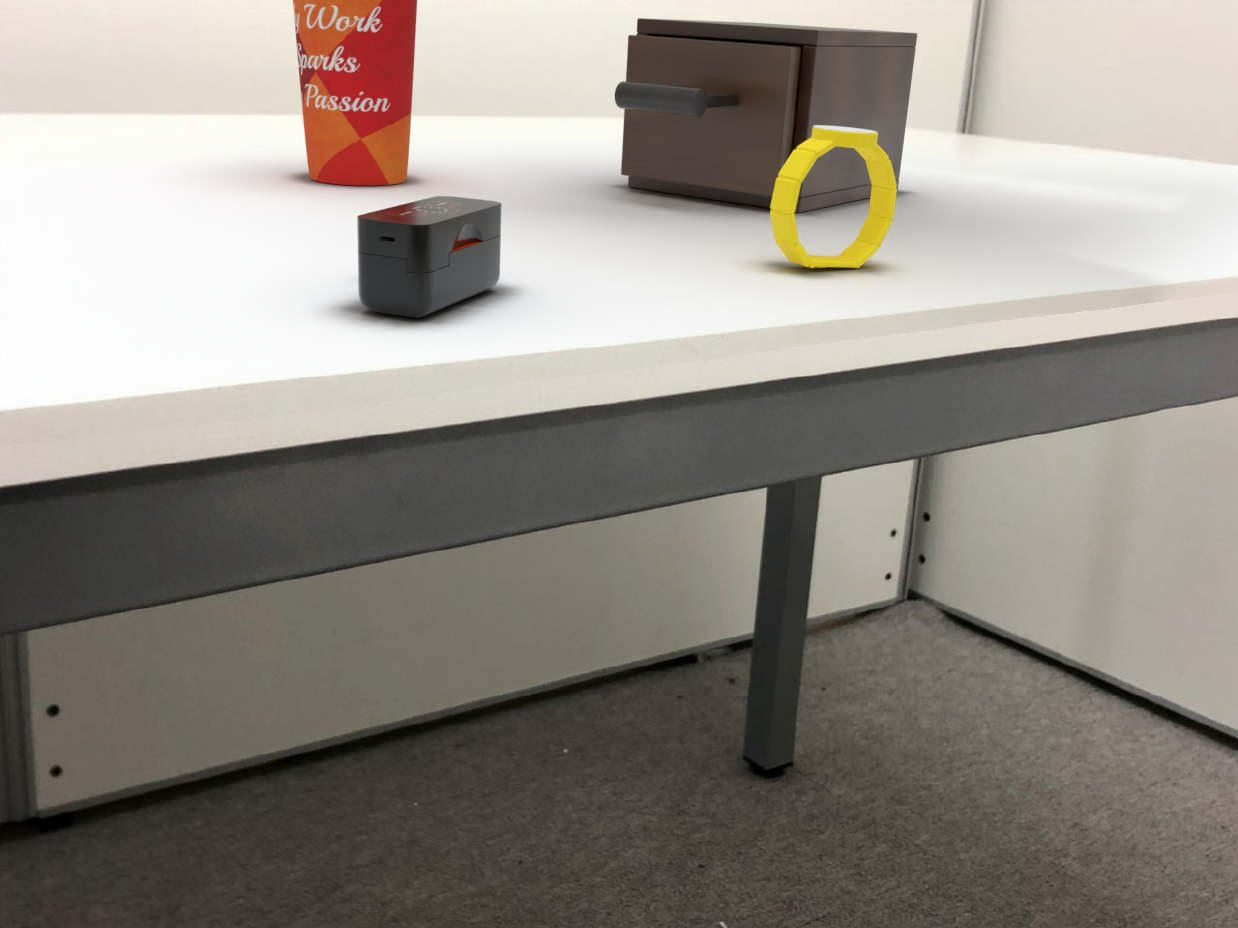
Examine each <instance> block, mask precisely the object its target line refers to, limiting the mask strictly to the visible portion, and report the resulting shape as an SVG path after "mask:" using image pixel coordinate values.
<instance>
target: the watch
mask: <svg viewBox="0 0 1238 928" xmlns="http://www.w3.org/2000/svg"><path fill="white" fill-rule="evenodd" d="M877 138H878V133H877V132H876V131H873V130H867V129H860V128H851V127H841V126H827V125H814V126H813V128H812V135H811V138H809V139H808V140H806V141H805V142H803V143H802V144H800V145H798V146H797V148H796V149H795V150H793V152H792V153H791V155H790V156H789V158H788V159H787V161H786V162H785V164H784V166H783V167H782V169H781V170H780V172H779V173H778V177H777V178H776V182H775V187H774V191H773V196H772V200H771V205H770V208H769V209H770V211H769V217H770V222H771V228H772V233H773V239H774V240H775V244H776V246H777V247H778V248H779V249H780V251H781V252H782V254H783V255H784V256H785V258H786V259H787V260H788V261H789V262H790V263H793V264H796V265H799V266H802V267H806V268H810V269H814V268H848V269H849V268H851V269H853V268H854V269H860V268H861V266H862V265H864V264H865V263H866V262H867V261H868V260H869V259H870V258H872V256H873V255H875V254H876V253H877V252H878V250H879V248H881V246H882V244H883V242H884V239H885V238H886V235H887V234H888V232H889V229H890V227H891V226H892V224H893V219H894V216H895V209H896V201H897V193H898V191H897V189H896V187H897V184H896V180H895V176H894V172H893V168H892V164H891V160H889V156H888V155H887V154H886V153H885V152H884V151H883V150H882V149H881V147H880V146H879V145H878V144H877ZM836 146H838V147H848V148H854V149H855V150H856V151H857V152H858V153H859V154H860V155H861V156H862V157H863V158H864V159H865V161H866V165H867V168H868V172H869V176H870V180H871V184H872V190H871V197H870V199H869V208H868V214H867V216H866V218H865V220H864V222H863V225H862V226H861V228H860V230H859V232H858V235H857V237H856V239H855V240H853V242H851V243H850V244H849V245H848V246H847V247H846V248H845V249H843V251H842V252H840V253H839V254H838V255H812V254H811V255H810V254H809V253H808V252H807V251H806V249H805V248H804V246H803V245H802V243H801V242H800V240H799V233H798V228H797V227H798V226H797V220H796V215H795V214H796V212H795V209H796V204H797V200H798V195H799V191H800V186H801V183H802V181H803V180H804V178H805V177H806V175H807V174H808V172H809V170H810V169H811V167H812V166H813V164H814V163H815V161H816V160H817V158H819V157H820V156H822V155H823V154H825V153H826V152H828V151H829V150H831V149H832V148H834V147H836Z"/></svg>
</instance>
